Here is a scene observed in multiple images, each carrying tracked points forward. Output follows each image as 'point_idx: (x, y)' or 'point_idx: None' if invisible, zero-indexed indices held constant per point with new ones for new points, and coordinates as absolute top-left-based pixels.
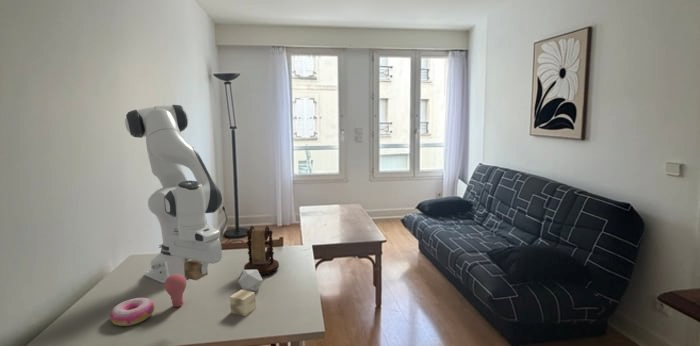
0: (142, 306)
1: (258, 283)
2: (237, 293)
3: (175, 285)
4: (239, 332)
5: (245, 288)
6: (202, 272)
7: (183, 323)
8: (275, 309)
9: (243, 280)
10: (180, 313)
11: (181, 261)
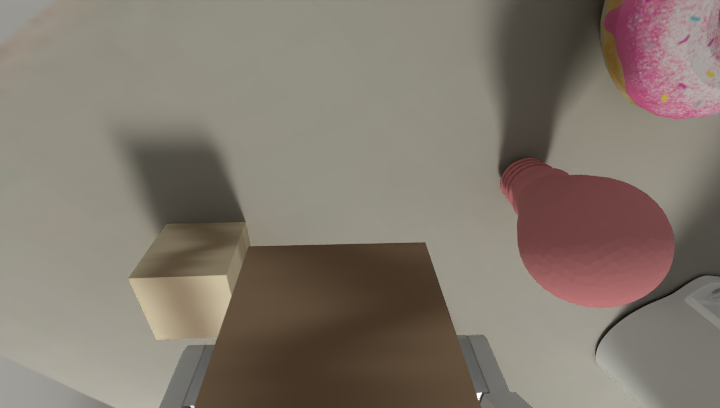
0: (689, 3)
1: None
2: (221, 307)
3: (566, 217)
4: (43, 113)
5: None
6: (184, 359)
7: (375, 62)
8: (110, 299)
9: None
10: (461, 130)
11: (692, 391)
